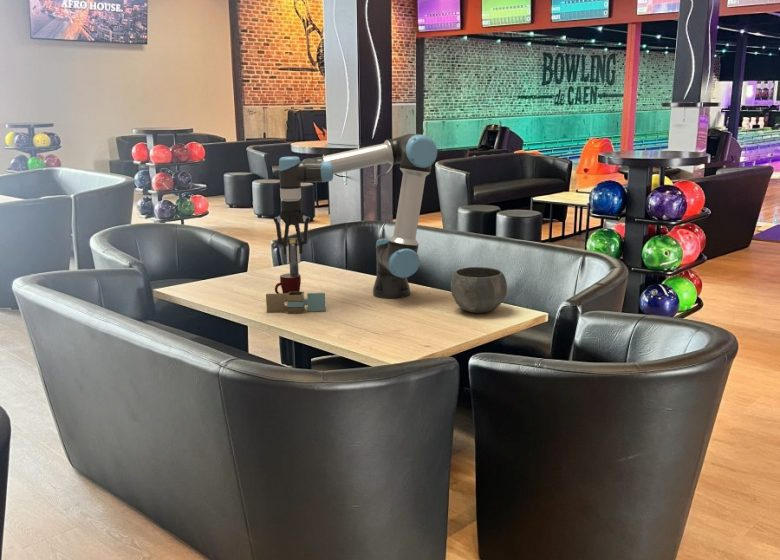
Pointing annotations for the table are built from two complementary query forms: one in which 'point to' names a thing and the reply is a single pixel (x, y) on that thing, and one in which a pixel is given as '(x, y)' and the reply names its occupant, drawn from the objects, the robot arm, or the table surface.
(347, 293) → the table surface
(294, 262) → the pin
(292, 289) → the mug
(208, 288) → the table surface
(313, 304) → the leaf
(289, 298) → the square hinge knuckle
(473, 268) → the bowl
